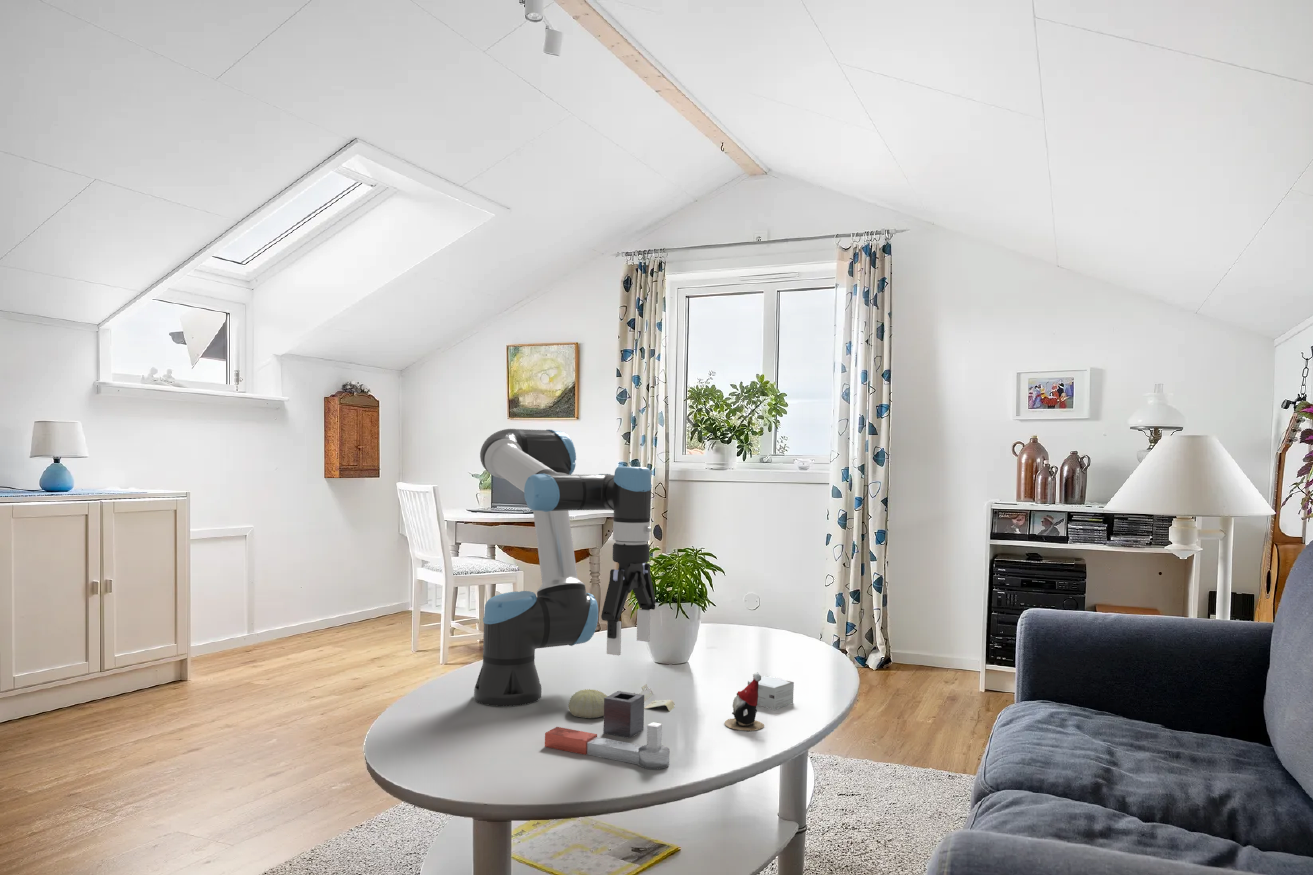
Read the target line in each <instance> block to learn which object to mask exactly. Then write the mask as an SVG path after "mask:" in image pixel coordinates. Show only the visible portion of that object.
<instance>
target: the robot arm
mask: <svg viewBox="0 0 1313 875" xmlns="http://www.w3.org/2000/svg"><path fill="white" fill-rule="evenodd" d="M479 458H480V462H481V465H482V467H483V468H484V469H485V470H486V471H487V473H489V474H490V475H492V476H493V477H495V478H497V479H504V480H506V481H507V482H509V483H510V484H511V485H513V486H514V487H516V488H517V489H519V490H520V491H521V492H523V496H524V501H525V503H526V506H527V508H528V509H529V510H531V511H533V519H534V529H535V535H536V544H537V553H538V559H539V569H540V576H541V585H540V587H539V588H537V591H536V593H535V592H534V591H529V590H528V591H527V590H521V591H510V592H505V593H500V594H497V595H494V596H492V597H491V598H489V599H488V600H487V601H486V603H485V604H484V614H483V618H482V623H483V640H482V641H483V642H482V644H483V647H482V649H483V650H482V666H481V668H480V670H479V675H478V677H477V679H476V682H475V683H476V684H475V685H474V689H473V691H474V693H473V699H474V701H475V702H476V703H479V704H481V705H486V706H490V707H504V708H506V707H518V706H525V705H529V704H533V703H536V702H537V701H539V700H540V699H541V698H542V684H541V682H540V677H539V675H538V670H537V667H536V662H535V658H536V656H535V655H536V652H535V651H536V649H545V648H554V647H564V646H571V647H573V646H575V645H580V644H581V645H582V644H586V643H587V642H589V641H590V640H592V637H593V636H594V634H595V633H596V629H597V628H598V626H597V625H598V621H599V607H598V606H599V605H598V601H597V599H596V597H595V596H594V594H592V593H589V592H587V590H586V584H585V583H584V582H582V581H581V580H580V579H579V576H578V571H577V570H578V569H577V563H576V557H575V556H576V555H575V549H574V543H573V542H574V541H573V535H572V527H571V526H572V525H571V521H570V513H569V511H613V522H612V523H613V527H612V540H613V541H615V542H614V543H613V544H612V561H613V562H614V563H617V564H618V568H617V569H614V568H613V569H610V572H609V582H608V586H607V591H606V594H605V597H604V604H603V607H602V611H601V616H600V617H601V620H602V621H604V622H605V621H606V622H607V625H606V626H607V627H606V654H607V655H613V656H618V657H619V656H621V655H622V654H621V653H622V651H621V650H622V621H620V618H621V615H622V613H623V610H624V607H625V604H626V602H627V598H628V597H629V596H628V595H629V594H630V593H632V591H633V594H634V596H635V599H636V602H637V605H638V607H639V608H638V609H637V610H636V611H637V612H636V615H637V616H636V617H637V618H636V641H637V642H638V641H639V642H647V643H649V642H650V641H651V610H654V611H655V609H656V604H657V602H656V596H655V591H654V590H655V589H654V586H653V581H652V575H651V563H649V562H650V555H651V551H650V548H651V547H650V546H651V545H650V544H649V543H647V542H649V541H650V539H651V537H650V536H651V531H653V530H652V527H651V512H652V510H651V509H652V508H651V506H652V504H651V503H652V488H653V487H652V486H653V485H652V473H651V470H650V468H648V467H645V466H617V467H616V468H615V470H614V474H611V473H599V474H573V473H574V472H575V469H576V466H577V465H576V464H577V463H576V461H577V452H576V448H575V445H574V442H573V441H572V439H571V437H570V436H569V435H568V434H567V433H566V432H564V431H561V430H553V429H525V428H524V429H523V428H520V429H519V428H506V429H505V428H504V429H501V430H499V431H496V432H494V433H493V434H491V435H489V436H488V437H487V438H486V439H485V440H484V442H483V444H482V446H481V448H480V452H479Z"/></svg>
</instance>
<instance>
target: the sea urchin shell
mask: <svg viewBox="0 0 1313 875" xmlns="http://www.w3.org/2000/svg"><path fill="white" fill-rule="evenodd" d="M607 696H608V695H607V694H605V693H604V692H602V691H600V690H597V689H590V688H589V689H588V688H587V689H580V690H578V691H576V692H575V693H573V695H571V697H569V700H568V710H569V712H570V714H571V715H572V716H573V717H576V718H584V719H598V718H602V717H604V698H606V697H607Z"/></svg>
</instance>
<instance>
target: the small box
mask: <svg viewBox="0 0 1313 875" xmlns="http://www.w3.org/2000/svg"><path fill="white" fill-rule="evenodd" d="M752 681H753V679H750V680H747V686H748V685H749V684H750V683H751V682H752ZM758 684H759V687H758V702H757V706H759V707H763V708H767V709H770V710H774V711H775V710H777V709H780V708H783V707H786V706H789V705H792V704H794V690H795V689H794V686H795V685H794V684H795V682H794V681H791V680H788V679H783V678H781V677H776V676H775V677H774V676H770V675H763V676H761V680H760V681H759V682H758Z"/></svg>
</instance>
